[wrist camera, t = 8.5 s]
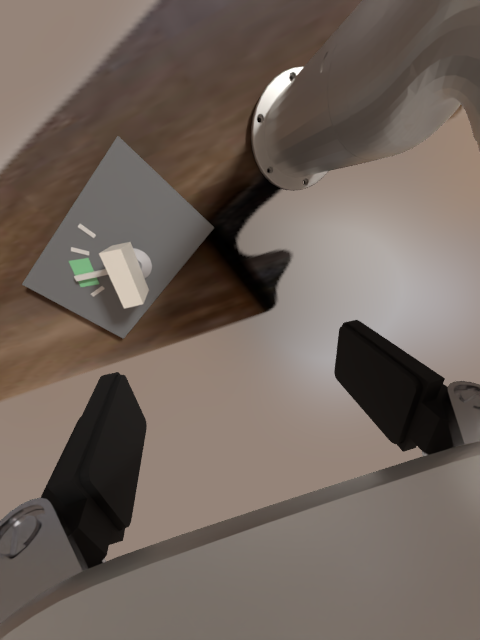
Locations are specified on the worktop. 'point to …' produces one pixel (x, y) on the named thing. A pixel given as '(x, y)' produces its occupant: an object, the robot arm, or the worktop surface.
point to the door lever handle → (122, 274)
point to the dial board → (118, 240)
